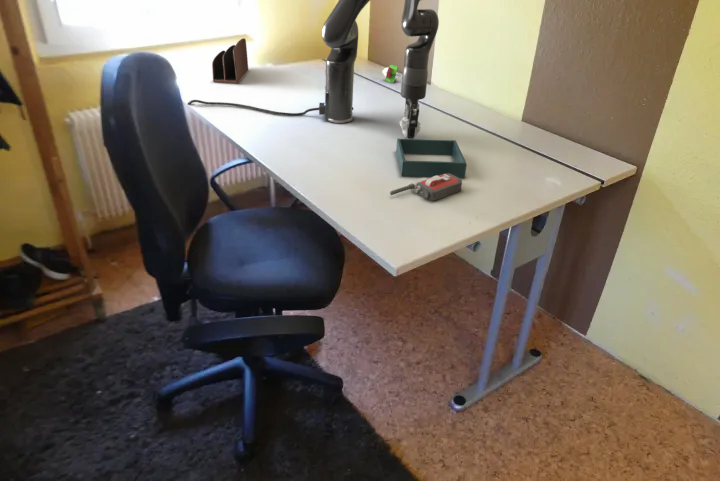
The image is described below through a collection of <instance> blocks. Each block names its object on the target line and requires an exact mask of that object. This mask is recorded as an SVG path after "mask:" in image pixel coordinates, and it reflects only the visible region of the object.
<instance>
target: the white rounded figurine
mask: <svg viewBox="0 0 720 481" xmlns="http://www.w3.org/2000/svg"><path fill="white" fill-rule="evenodd" d="M411 123H414V121H411ZM399 125H400V128H401V130H402V131H401V132H402V135H403V136H404V137H405V138H407V131H408V119H407V118H406V116H405V115H404V116H403V117H402V119H401V120H400V121H399ZM417 125H418V126H417V127H415V136H414V138H416V137H417V135H418V134H419V133H420V131H421V122H420V121H418V124H417Z"/></svg>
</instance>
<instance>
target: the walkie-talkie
mask: <svg viewBox="0 0 720 481" xmlns="http://www.w3.org/2000/svg"><path fill="white" fill-rule="evenodd" d="M462 184H463V179H462V178H458V177H456V176H454V175H452V174H450V173H447V174H442V175H439V176H437V175H436V176H433V177H420V178H418V179H413V180H411V181H410V184H407V185H405V186H402V187H399V188H396V189H394V190H393V189H392V190H391V191H389V195H390V196H393V195H396V194H400V193H403V192H405V191H408V190H414V193H416V194H418V195H420V196H421V197H423V198H424V199H427V200H428V201H431V202H434V201H437V200H439V199H442V198H445V197H448V196H451V195H453V194H456V193H458V192H460V191H462Z"/></svg>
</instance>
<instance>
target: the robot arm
mask: <svg viewBox="0 0 720 481" xmlns="http://www.w3.org/2000/svg"><path fill="white" fill-rule="evenodd" d="M370 1H371V0H338V1H337V3H336V4H335V6H334V8H333V9H332V10H331V12H330V13H329V15H328V16H327V18H326V20H325V21H324V23H323V24H322V30H321V37H322V40H323V42H324V44H325V46H327V47H328V48H330V51H329V53H328V55H327V57H326V59H325V86H324V88H325V92H324V102H319V103H318V107H312V108H308V109H306V110H304V111H302V112H296V113H294V112H293V113H292V112H283V111H275V110H270V109H266V108H261V107H256V106H251V105H247V104H241V103H234V102H233V103H232V102H223V101H219V102H218V101H204V100H200V99H192V100H189V101H188V102H187V105H189V106H190V105H191V104H194V103H197V104H198V103H199V104H204V105H211V106H212V105H213V106H214V105H215V106H232V107H240V108H245V109H246V108H247V109H251V110H254V111H259V112H265V113H268V114H274V115H279V116H280V115H281V116H289V117H290V116H291V117H294V116H295V117H298V116H303V115H306V114H308V113H310V112H313V111H314V112H315V111H318V115H319V116H320V115H321V116H324V121H325V122H329V123H334V124H343V123H344V124H345V123H349V122H351V121H352V120H353V111H354V107H353V104H354V102H353V100H354V78H355V62H356V60H357V56H358V46H359V26H358V23H357V21H356V20H357V19H358V16H359V14H361V12H362V11H363V9H364V8H365V7H366V6H367V5H368V4H369V2H370ZM422 1H423V0H404V3H403V10H402V14H401V19H400V25H401V30H402V32H403V34H404V35H405V36H406V37H418V38H417V40H416V41H414V42H411V43H409V44H408V45H407V46H405V49H404V62H403V69H402V72H401V74H402V75H401V86H400V96H401V97H402V98H404V99H405V101H404V111H403V112H404V116H406V118H407V119H408V131H407V137H406V139H415V137H416V136H415V127H417V126H418V125H417V124H418V122H419V116H420V104H419V101H420V100H424V99H425V98H426V95H427V86H428V79H429V78H428V77H429V59H430V53H431V49H432V47H433V43H434V42H435V39H436V36H437V34H438V29H439V25H440V19H439V16H438V13H437V11H435V9H432V8H423V9H418V6H419V3H420V2H422ZM411 121H414V123H411ZM414 136H415V137H414Z"/></svg>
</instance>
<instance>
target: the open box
mask: <svg viewBox="0 0 720 481" xmlns="http://www.w3.org/2000/svg"><path fill="white" fill-rule="evenodd" d="M395 154H396V158H397V163H398V168H399V172H400V177H404V178H405V177H407V178H408V177H409V178H430V177H431V178H432V177H433V176H436V175H437V176H439V175H442V174H447V173H450V174H452V175H454V176H456V177H458V178H460V179H465V178H466V170H467V165H468V162H467V161H466V159H465V156H464V154H463V153H462V150H461V148H460V146H459V144H458V142H457V140H456V139H455V140H454V139H424V138H423V139H422V138H420V139H419V138H414V139H408V138H397V140H396V149H395ZM405 155H433V156H434V155H435V156H451V157H452V160H453V161H441V160H440V161H438V160H437V161H435V160H433V161H432V160H406V157H405Z"/></svg>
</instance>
